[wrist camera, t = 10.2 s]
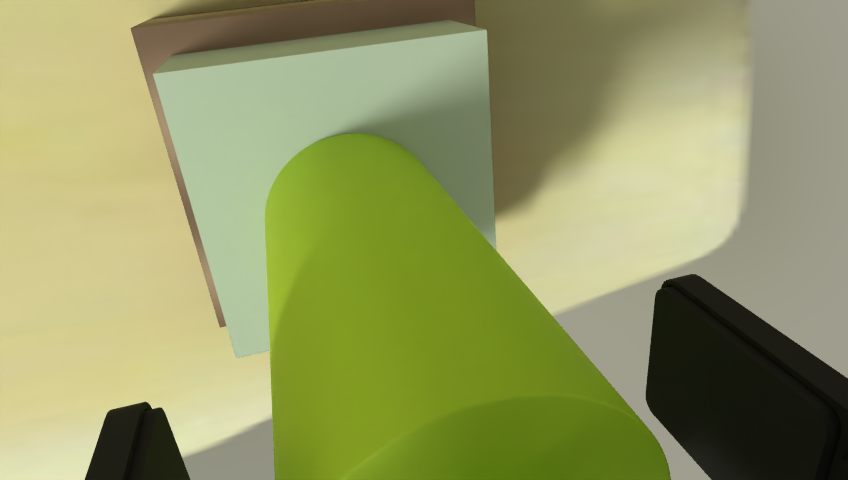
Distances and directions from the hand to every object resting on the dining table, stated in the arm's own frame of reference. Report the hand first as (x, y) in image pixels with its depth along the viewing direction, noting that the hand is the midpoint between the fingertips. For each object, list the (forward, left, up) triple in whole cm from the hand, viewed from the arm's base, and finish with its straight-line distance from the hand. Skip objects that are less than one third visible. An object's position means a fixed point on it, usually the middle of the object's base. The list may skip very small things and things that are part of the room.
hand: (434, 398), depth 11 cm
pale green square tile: (0, 0, -14) cm, 14 cm away
